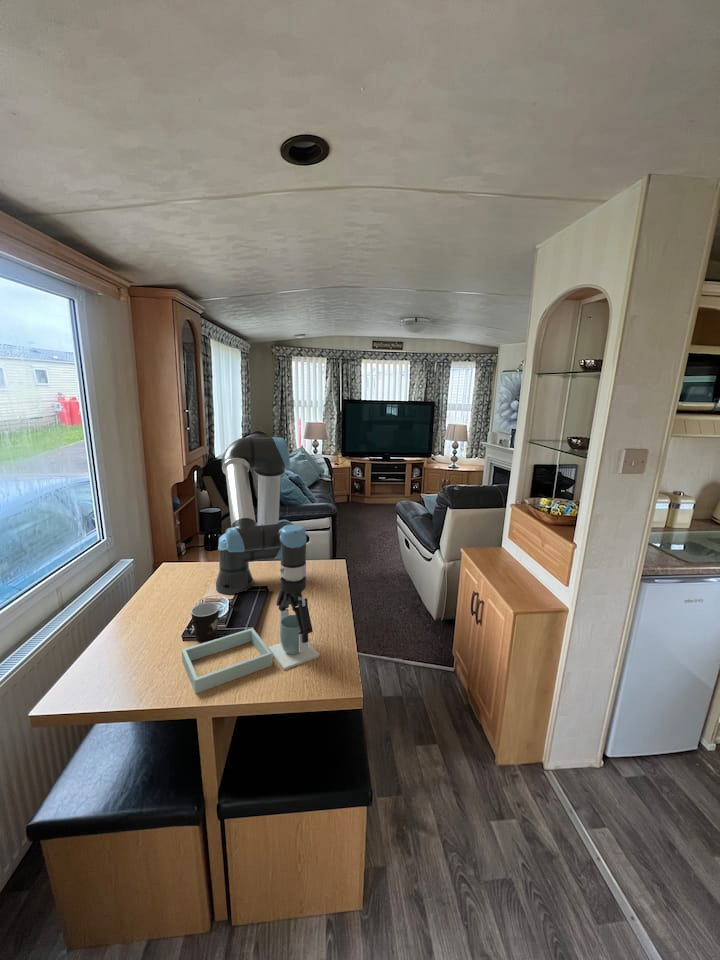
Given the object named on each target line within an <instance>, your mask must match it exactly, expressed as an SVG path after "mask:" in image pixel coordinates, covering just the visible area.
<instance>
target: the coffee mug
mask: <svg viewBox="0 0 720 960" xmlns="http://www.w3.org/2000/svg"><path fill="white" fill-rule="evenodd" d="M190 612H191V613H190V614H191V617H192V621H190V623H189V624H188V626H187V633H188V634H189V635H191V636H195V638H196V641H197V642H199V643H205V642H208V641H212V640H215V639H217V637H218V636H217V635H218V626H219V616H220V615H219V613H220V605H219V604H217V603H216V602H203V603H200V604H197V605H196V606H193V607H192V609H191V610H190ZM192 625H193V629H194V632H195V633H194V632H191V631H190V629H191V627H192Z"/></svg>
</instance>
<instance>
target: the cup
mask: <svg viewBox="0 0 720 960" xmlns="http://www.w3.org/2000/svg"><path fill="white" fill-rule="evenodd" d="M279 630H280V631H279V634H280V635H279V637H280V643H281V646H282V649H283V650H284V651H285V652H286V653H288V654H297V653H299V631H300V628H299V625H298V621H297V618H296V614H289V616H286V617H284V618H283V619H282V620H281V623H280V622H279Z"/></svg>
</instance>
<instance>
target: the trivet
mask: <svg viewBox="0 0 720 960" xmlns="http://www.w3.org/2000/svg"><path fill="white" fill-rule="evenodd" d="M267 647H268V649H269V650H270V651H271V653H272V657H273V658H274V659H275V660H276V662H277V663H278V664H279V666H280V667H281V668H282V670H283V671H286V670H288V669H291V668H294V667H296V666H299V665H302V664H304V663H307V662H309V661H311V660H314V659H317V658H320V655H321V654H320V653H319V652H318V651H317V650H316V649H315V647H314V646H313V645H311V643H310V642H309V641H308V650H306V651H303V652H299V653H297V654H288V653H286V652H285V651H284V650H283V649H282V646H281V642H279V643H277V644H273V645H271V646H270V645H269V646H267Z"/></svg>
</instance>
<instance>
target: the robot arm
mask: <svg viewBox="0 0 720 960" xmlns="http://www.w3.org/2000/svg"><path fill="white" fill-rule="evenodd" d="M290 464H291V461H290V452H289V447H288V443H287V441H286V439H285V438H283V437H279V436H278V437H277V436H275V437H274V436H270V437H269V436H268V437H267V436H266V437H264V436H263V437H257V436H256V437H240V438H238V439H236V440H234V441H233V442H231V444H230V445H229V446H227V448H226V449H225V451H224V453H223V455H222V458H221V470H222V473H223V474H224V475H225V480H226V490H227V497H228V508H229V518H230V526H231V527H228V528H227V529H225V533H223V534H222V535H221V536H219V538H218V546H217V549H218V563H219V565H218V566H219V570H218V571H219V572H218V574H217V578H216V580H215V590H216V591H217V592H218V593H220V594H224V595H236V594H235V593H236V592H243V591H245V590H247V589H249V588H251V587H252V588H253V587H254V577H253V576H252V572H251V570H250V566H249V565H250V564H249V563H251V562H261V561H268V560H271V561H272V560H276V559H280V568H279V572H280V576H281V577H280V584H279V585H280V587H279V592H278V597H277V600H276V606H277V607H278V610H279V624H280V623H281V620H282V619H283V618H284V617H286V616H289V615H290V614H289V613H290V612H289V609H288V608H290V606H291V610H292V611H293V612H294V615H296V618H297V621H298V625H299V628H300V631H299V652H303V651H306V650H308V642H309V634H310V633H313V631H314V630H313V625H312V621H311V616H310V611H309V606H308V605H309V604H308V598H307V597H306V598H303V591H304V590H305V589H306V587H307V577H306V575H307V540H308V538H307V531H306V530H307V529H306V528H305V527H304V526H302V525H299V524H294V523H293V522H291V521H289V520H288V519H280V501H281V497H280V496H281V495H280V494H281V476H282V475H284V474H285V468H289V467H290ZM250 469H253V473H255V474H256V475H257V521H256V516H255V508H254V505H253V496H252V490H251V484H250V478H249V471H250ZM252 588H251V589H252ZM243 593H244V592H243Z"/></svg>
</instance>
